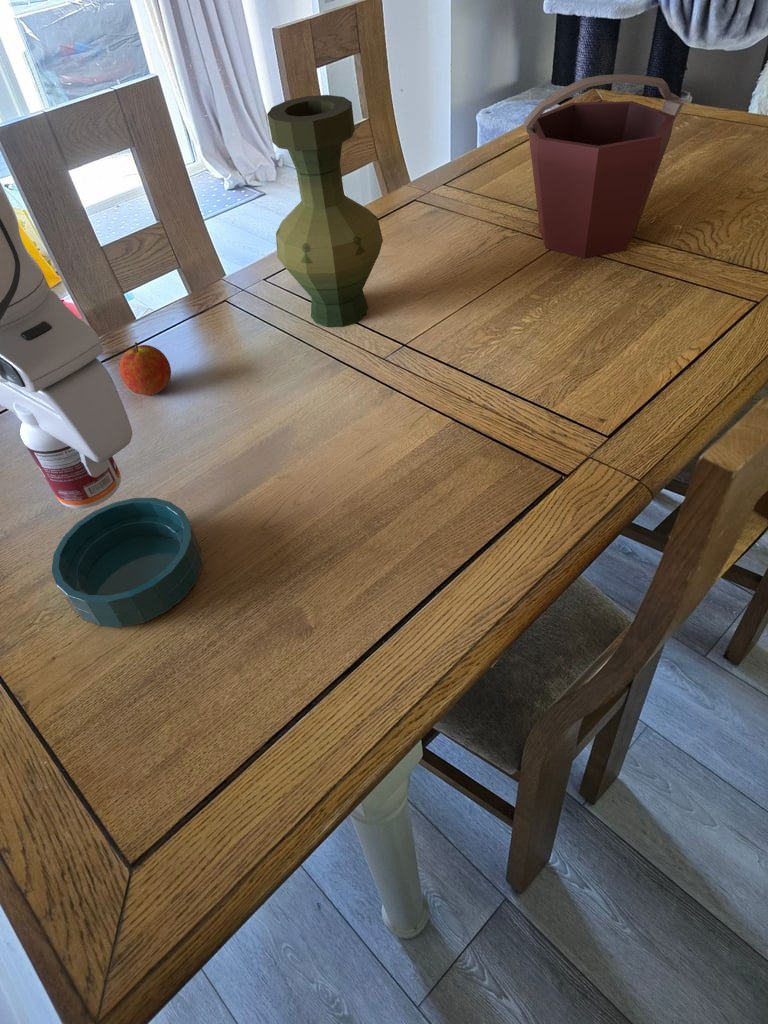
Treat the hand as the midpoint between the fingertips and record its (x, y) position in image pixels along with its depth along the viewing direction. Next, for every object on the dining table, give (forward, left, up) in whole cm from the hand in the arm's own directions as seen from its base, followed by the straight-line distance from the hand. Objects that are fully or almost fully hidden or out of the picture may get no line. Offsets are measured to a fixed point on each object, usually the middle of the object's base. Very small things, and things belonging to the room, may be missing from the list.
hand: (73, 456), depth 64 cm
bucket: (+97, -6, -18) cm, 99 cm away
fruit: (+24, +27, -18) cm, 40 cm away
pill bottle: (0, 0, -4) cm, 4 cm away
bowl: (0, 0, -18) cm, 18 cm away
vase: (+55, +17, -18) cm, 60 cm away
